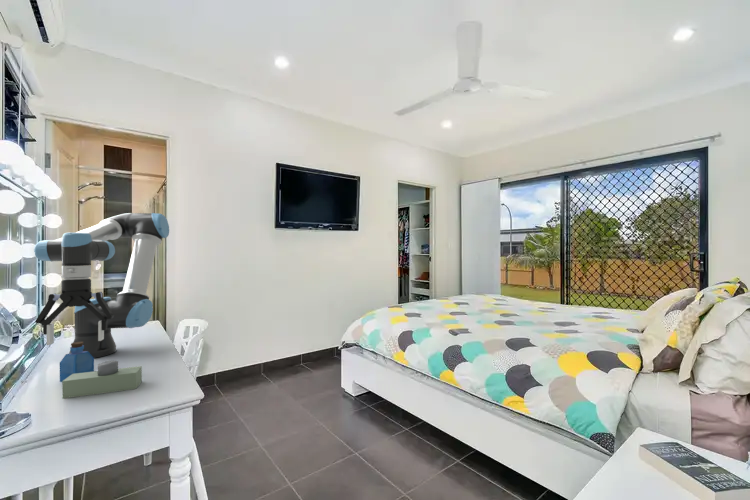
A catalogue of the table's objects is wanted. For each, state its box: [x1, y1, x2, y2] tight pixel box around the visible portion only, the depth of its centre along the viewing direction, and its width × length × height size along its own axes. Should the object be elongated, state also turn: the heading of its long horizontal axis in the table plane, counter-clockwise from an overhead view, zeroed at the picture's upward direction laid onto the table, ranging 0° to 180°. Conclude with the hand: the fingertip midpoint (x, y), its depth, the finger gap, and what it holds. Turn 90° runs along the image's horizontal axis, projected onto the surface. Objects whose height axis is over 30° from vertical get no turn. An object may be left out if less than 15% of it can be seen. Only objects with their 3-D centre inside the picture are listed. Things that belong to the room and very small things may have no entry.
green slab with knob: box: [61, 360, 143, 399], centre depth 109 cm, size 15×18×8 cm
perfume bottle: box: [59, 342, 95, 383], centre depth 115 cm, size 6×6×12 cm
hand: (76, 342), depth 114 cm, fingers open, 13 cm apart
